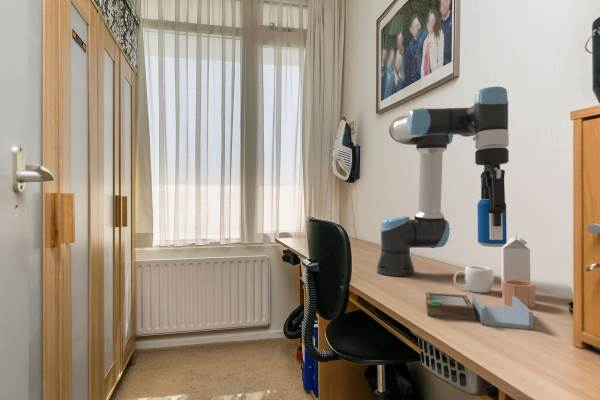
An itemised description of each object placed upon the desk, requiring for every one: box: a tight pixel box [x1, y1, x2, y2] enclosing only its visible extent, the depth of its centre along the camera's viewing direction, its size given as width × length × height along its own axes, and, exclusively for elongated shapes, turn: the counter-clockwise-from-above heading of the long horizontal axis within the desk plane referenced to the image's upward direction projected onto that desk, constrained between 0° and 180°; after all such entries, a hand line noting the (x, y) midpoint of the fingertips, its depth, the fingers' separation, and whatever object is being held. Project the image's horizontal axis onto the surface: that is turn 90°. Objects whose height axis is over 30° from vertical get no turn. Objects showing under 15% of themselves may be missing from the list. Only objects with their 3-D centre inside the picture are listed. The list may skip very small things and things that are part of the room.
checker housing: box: [425, 292, 475, 321], centre depth 93 cm, size 12×11×4 cm
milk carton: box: [500, 233, 531, 291], centre depth 109 cm, size 7×7×19 cm
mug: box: [453, 265, 495, 294], centre depth 113 cm, size 12×8×8 cm
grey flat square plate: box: [431, 295, 467, 306], centre depth 93 cm, size 8×8×1 cm
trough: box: [471, 292, 534, 331], centre depth 87 cm, size 14×11×4 cm
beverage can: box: [476, 198, 508, 248], centre depth 88 cm, size 6×6×12 cm
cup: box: [501, 280, 536, 309], centre depth 99 cm, size 8×8×6 cm
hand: (492, 238), depth 88 cm, fingers closed on beverage can, 6 cm apart
